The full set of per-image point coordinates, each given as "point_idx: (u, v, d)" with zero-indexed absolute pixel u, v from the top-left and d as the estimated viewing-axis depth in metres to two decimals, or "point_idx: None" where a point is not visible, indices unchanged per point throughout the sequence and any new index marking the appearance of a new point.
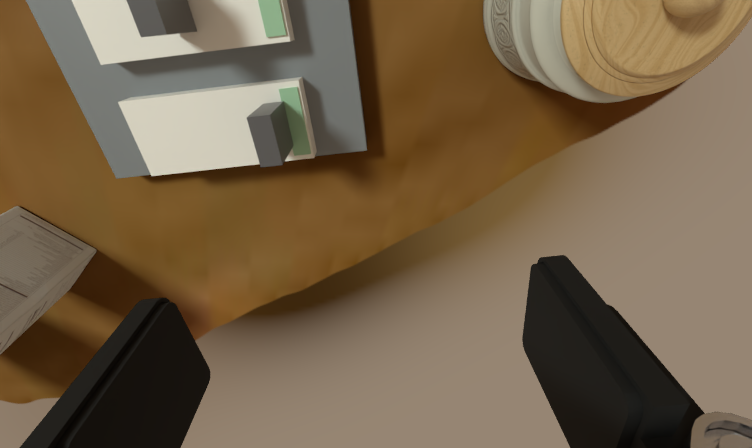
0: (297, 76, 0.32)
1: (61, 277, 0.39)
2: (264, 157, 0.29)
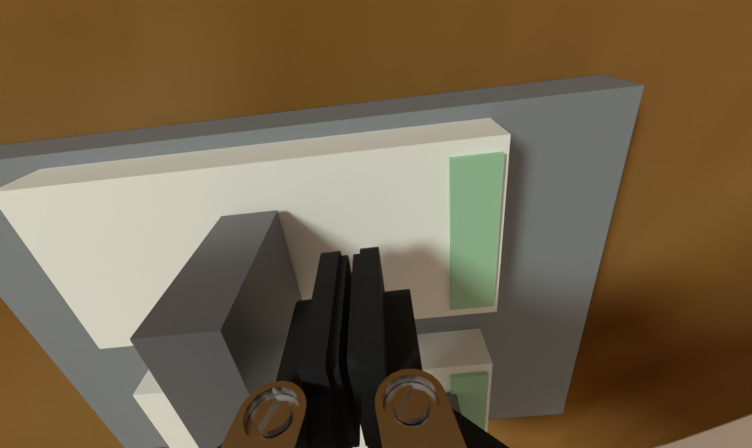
0: (471, 328, 0.17)
1: None
2: None
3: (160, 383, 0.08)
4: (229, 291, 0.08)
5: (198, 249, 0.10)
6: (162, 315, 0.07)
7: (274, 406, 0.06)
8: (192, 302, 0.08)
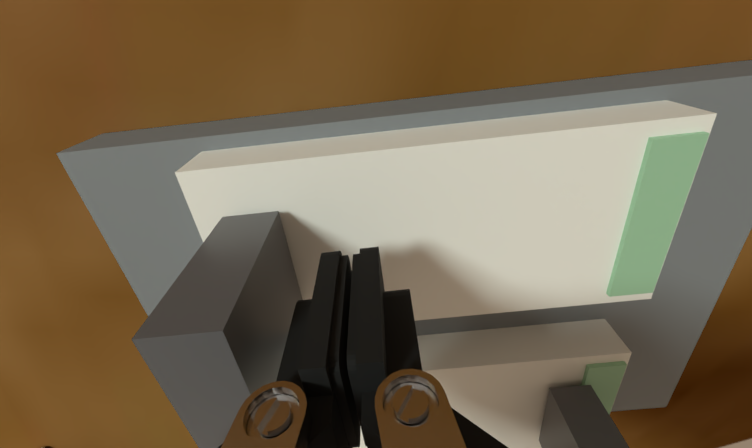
0: (596, 318, 0.17)
1: None
2: None
3: (162, 383, 0.08)
4: (231, 291, 0.08)
5: (199, 250, 0.10)
6: (164, 315, 0.07)
7: (274, 406, 0.06)
8: (194, 302, 0.08)
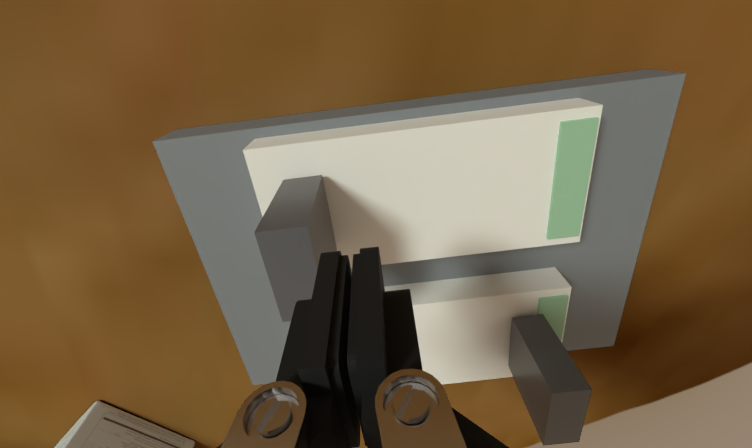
0: (548, 266, 0.22)
1: None
2: (555, 435, 0.18)
3: (266, 265, 0.13)
4: (305, 211, 0.13)
5: (275, 195, 0.15)
6: (268, 223, 0.13)
7: (274, 406, 0.06)
8: (284, 217, 0.13)
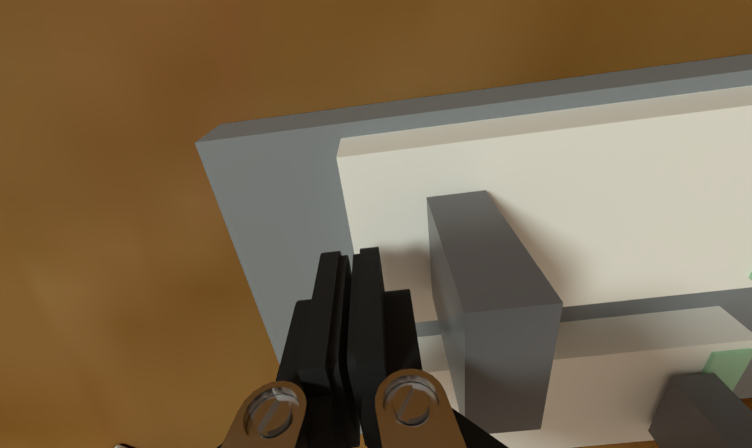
0: (711, 305, 0.17)
1: None
2: None
3: (468, 361, 0.07)
4: (525, 265, 0.08)
5: (438, 228, 0.09)
6: (475, 290, 0.07)
7: (274, 406, 0.06)
8: (495, 277, 0.07)
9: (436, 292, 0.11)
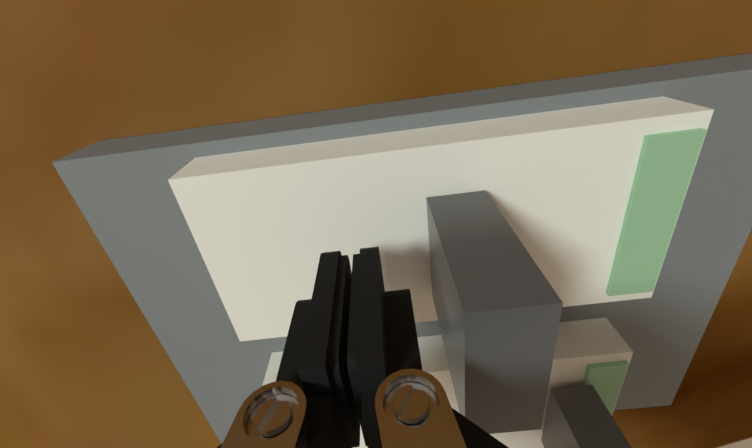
0: (597, 317, 0.17)
1: None
2: None
3: (468, 361, 0.07)
4: (526, 265, 0.08)
5: (438, 228, 0.09)
6: (475, 290, 0.07)
7: (274, 406, 0.06)
8: (495, 277, 0.07)
9: (436, 292, 0.11)
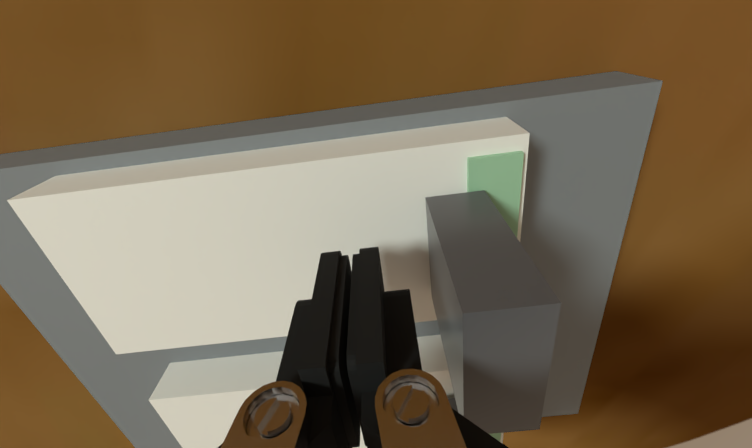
0: None
1: None
2: None
3: (466, 361, 0.07)
4: (523, 265, 0.08)
5: (437, 228, 0.09)
6: (473, 290, 0.07)
7: (274, 406, 0.06)
8: (493, 277, 0.07)
9: (435, 292, 0.11)
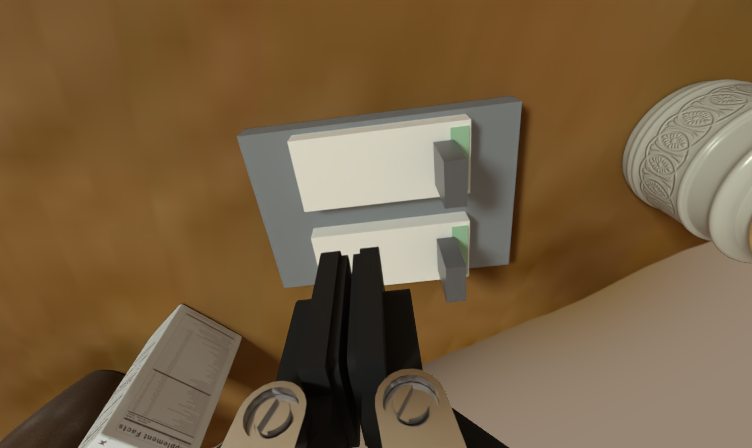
0: (461, 211, 0.37)
1: (227, 370, 0.44)
2: (452, 295, 0.33)
3: (445, 178, 0.28)
4: (461, 154, 0.28)
5: (437, 148, 0.30)
6: (447, 158, 0.27)
7: (274, 406, 0.06)
8: (452, 156, 0.28)
9: (436, 176, 0.32)
